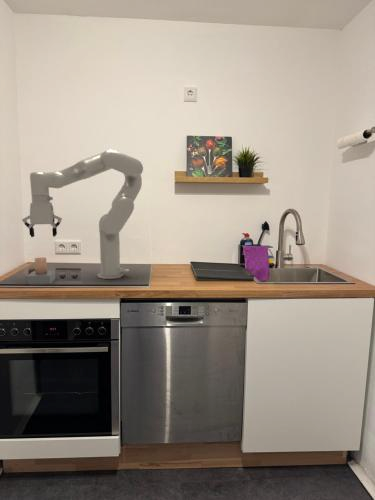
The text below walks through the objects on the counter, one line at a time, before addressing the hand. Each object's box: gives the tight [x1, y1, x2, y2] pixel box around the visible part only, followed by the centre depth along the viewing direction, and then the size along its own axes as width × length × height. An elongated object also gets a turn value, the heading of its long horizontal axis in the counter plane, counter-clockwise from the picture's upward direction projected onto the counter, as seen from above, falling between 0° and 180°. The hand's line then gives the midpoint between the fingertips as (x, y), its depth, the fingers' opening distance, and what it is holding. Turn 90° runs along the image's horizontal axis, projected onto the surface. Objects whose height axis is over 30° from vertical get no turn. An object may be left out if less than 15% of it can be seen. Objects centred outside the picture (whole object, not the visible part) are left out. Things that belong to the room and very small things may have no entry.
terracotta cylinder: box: [34, 257, 48, 274], centre depth 164 cm, size 5×5×7 cm
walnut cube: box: [27, 267, 35, 275], centre depth 174 cm, size 4×4×4 cm
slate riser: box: [26, 270, 56, 285], centre depth 165 cm, size 10×10×4 cm
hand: (43, 236), depth 164 cm, fingers open, 9 cm apart
